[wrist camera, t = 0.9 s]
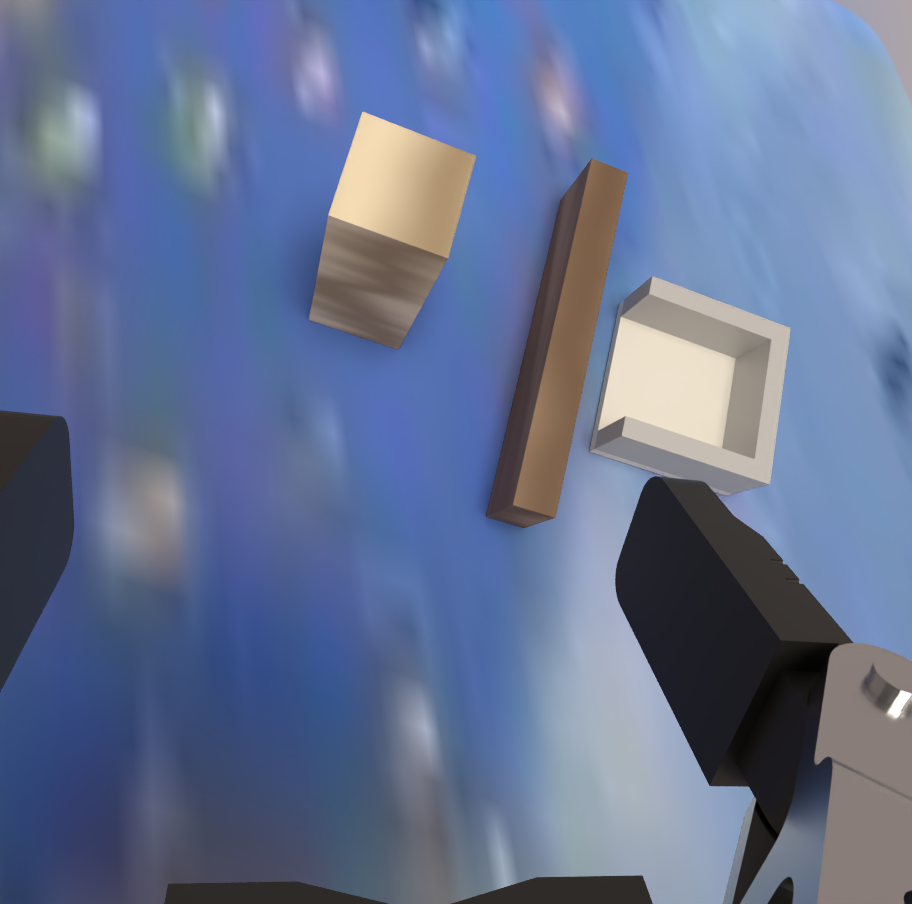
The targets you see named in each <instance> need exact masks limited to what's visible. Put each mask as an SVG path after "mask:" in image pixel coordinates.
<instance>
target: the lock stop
mask: <svg viewBox="0 0 912 904" xmlns="http://www.w3.org/2000/svg"><path fill="white" fill-rule="evenodd" d="M475 159H476V156H475V155H472V154H470V153H467V152H465V151H462V150H459V149H457V148H454V147H452V146H449V145H447V144H444V143H442V142H439V141H436V140H434V139H431V138H429V137H426V136H424V135H421V134H419V133H416V132H413V131H411V130H408V129H406V128H403V127H401V126H398V125H396V124H393V123H390V122H388V121H385V120H383V119H380V118H378V117H375V116H373V115H370V114H367V113H365V112H362V115H361V118H360V121H359V124H358V127H357V130H356V133H355V136H354V139H353V142H352V145H351V148H350V151H349V154H348V157H347V160H346V163H345V166H344V169H343V172H342V175H341V179H340V182H339V185H338V188H337V191H336V194H335V197H334V200H333V203H332V206H331V209H330V212H329V215H328V220H327V225H326V231H325V236H324V241H323V247H322V252H321V257H320V263H319V268H318V274H317V279H316V284H315V290H314V295H313V300H312V306H311V311H310V316H309V320H310V321H313V322H316V323H319V324H322V325H325V326H328V327H331V328H334V329H337V330H340V331H343V332H346V333H349V334H352V335H355V336H358V337H362V338H365V339H368V340H371V341H374V342H377V343H380V344H383V345H386V346H389V347H392V348H395V349H399V348H400V346H401V344H402V342H403V340H404V338H405V337H406V335H407V333H408V331H409V329H410V327H411V325H412V324H413V322H414V320H415V318H416V316H417V314H418V313H419V311H420V309H421V307H422V305H423V303H424V301H425V300H426V298H427V296H428V294H429V292H430V290H431V289H432V287H433V285H434V283H435V281H436V279H437V278H438V276H439V274H440V272H441V270H442V268H443V266H444V265H445V263H446V261H447V259H448V256H449V253H450V249H451V245H452V242H453V238H454V235H455V231H456V227H457V224H458V220H459V216H460V213H461V209H462V206H463V202H464V198H465V195H466V191H467V188H468V184H469V180H470V177H471V173H472V169H473V166H474V162H475Z"/></svg>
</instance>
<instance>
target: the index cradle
mask: <svg viewBox="0 0 912 904" xmlns="http://www.w3.org/2000/svg"><path fill="white" fill-rule="evenodd" d="M790 329H791V328H789V327H786V326H783V325H781V324H778V323H775V322H773V321H770V320H767V319H765V318H762V317H759V316H757V315H754V314H752V313H749V312H746V311H744V310H741V309H738V308H736V307H733V306H730V305H728V304H725V303H722V302H720V301H717V300H714V299H712V298H709V297H706V296H704V295H701V294H699V293H696V292H693V291H691V290H688V289H685V288H683V287H680V286H677V285H675V284H672V283H669V282H667V281H664V280H661V279H659V278H656V277H654V276H652V277H651V278H650V279H648V280H647V281H646V282H645V283H644V284H643V285H641V286H640V287H639V288H638V289H637V290H636V291H634V292H633V293H632V294H631V295H630V296H628V297H627V298H626V299H625V300H624V301H623V302H621V303H620V304H619V307H618V312H617V317H616V322H615V327H614V332H613V337H612V342H611V347H610V352H609V357H608V362H607V367H606V371H605V376H604V381H603V386H602V391H601V396H600V401H599V406H598V411H597V416H596V421H595V426H594V431H593V435H592V440H591V445H590V450H589V452H592V453H595V454H598V455H601V456H604V457H607V458H610V459H614V460H617V461H620V462H623V463H626V464H629V465H632V466H635V467H638V468H641V469H645V470H648V471H651V472H654V473H657V474H660V475H663V476H666V477H669V478H678V479H688V480H698V481H703V482H705V483H706V484H707V485H708V486H709V487H710V488H711V489H712V490H713V492H716V493H719V494H722V495H725V496H727V495H730V494H734V493H738V492H742V491H746V490H750V489H754V488H758V487H762V486H766V485H770V479H771V472H772V464H773V457H774V449H775V442H776V434H777V427H778V419H779V412H780V404H781V397H782V389H783V382H784V374H785V367H786V359H787V352H788V344H789V337H790Z"/></svg>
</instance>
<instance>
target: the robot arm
mask: <svg viewBox="0 0 912 904" xmlns="http://www.w3.org/2000/svg"><path fill="white" fill-rule="evenodd" d="M73 531H74V513H73V496H72V478H71V460H70V442H69V431H68V426H67V423H66V421H65V419H64V418H63V417H61V416H51V415H40V414H30V413H20V412H10V411H0V691H1V689H2V688H3V686H4V684H5V682H6V680H7V678H8V676H9V674H10V672H11V670H12V668H13V666H14V665H15V663H16V661H17V659H18V657H19V655H20V653H21V651H22V649H23V647H24V645H25V643H26V642H27V640H28V638H29V636H30V634H31V632H32V630H33V628H34V626H35V624H36V622H37V621H38V619H39V617H40V615H41V613H42V611H43V609H44V607H45V605H46V603H47V601H48V599H49V598H50V596H51V594H52V592H53V590H54V588H55V586H56V584H57V582H58V580H59V578H60V577H61V575H62V573H63V571H64V569H65V567H66V564H67V561H68V558H69V555H70V551H71V546H72V540H73ZM782 562H783V560H782V558H781V557H780V556H779V555H778V554H777V553H776V551H775V550H774V549H773V548H772V547H771V546H770V544H769V543H768V542H767V541H766V540H765V538H764V537H763V536H761V535H760V534H758V533H757V532H756V531H754V530H753V529H751V528H750V527H749V526H747V525H746V524H744V523H743V522H741V521H740V520H739V519H737V518H736V517H734V516H733V515H732V513H731V512H730V511H729V510H728V509H727V507H726V506H725V505H724V504H723V503H722V501H721V500H720V499H719V498H718V496H717V495H716V494H715V493H714V492H713V490H712V489H711V488H710V487H709V486H708V485H707V484H706V483H705V482H703V481H698V480H688V479H678V478H668V477H657V476H655V477H652V478H650V479H649V480H648V481H647V483H646V484H645V486H644V488H643V490H642V492H641V495H640V498H639V501H638V504H637V507H636V510H635V513H634V516H633V519H632V522H631V524H630V527H629V530H628V533H627V536H626V539H625V542H624V545H623V548H622V551H621V554H620V557H619V560H618V563H617V568H616V578H615V584H616V593H617V598H618V601H619V604H620V606H621V608H622V610H623V612H624V614H625V616H626V618H627V620H628V622H629V624H630V626H631V628H632V630H633V632H634V634H635V636H636V638H637V640H638V642H639V644H640V646H641V648H642V650H643V652H644V655H645V657H646V659H647V661H648V663H649V665H650V667H651V669H652V671H653V673H654V675H655V677H656V679H657V681H658V683H659V685H660V687H661V689H662V691H663V693H664V695H665V697H666V699H667V701H668V703H669V705H670V707H671V709H672V711H673V713H674V715H675V717H676V719H677V721H678V723H679V725H680V727H681V729H682V731H683V733H684V735H685V737H686V739H687V741H688V743H689V745H690V747H691V749H692V751H693V753H694V755H695V757H696V759H697V762H698V764H699V766H700V768H701V770H702V772H703V774H704V776H705V778H706V780H707V782H708V784H709V786H749V787H750V789H751V791H752V793H753V795H754V798H753V800H752V802H751V804H750V806H749V807H748V809H747V811H746V814H745V816H744V819H743V823H742V827H741V831H740V836H739V840H738V844H737V848H736V852H735V856H734V860H733V864H732V868H731V873H730V877H729V881H728V885H727V889H726V893H725V897H724V901H723V904H912V661H910V660H908V659H906V658H904V657H902V656H900V655H898V654H896V653H893V652H891V651H888V650H886V649H883V648H879V647H876V646H872V645H867V644H860V643H853V642H852V641H851V639H850V638H849V637H848V636H847V635H846V634H845V632H844V631H843V630H842V629H841V628H840V627H839V625H838V624H837V623H836V622H835V621H834V619H833V618H832V617H831V616H830V615H829V614H828V612H827V611H826V610H825V609H824V608H823V607H822V605H821V604H820V603H819V602H818V601H817V600H816V598H815V597H814V596H813V595H812V594H811V592H810V591H809V590H808V589H807V588H806V587H805V585H804V584H799V578H798V577H797V576H796V575H795V574H794V573H793V571H792V570H791V569H790V568H789V567H788V565H785V564H783V563H782ZM164 904H387V903H383V902H379V901H375V900H370V899H366V898H362V897H358V896H354V895H350V894H346V893H341V892H337V891H333V890H329V889H325V888H321V887H317V886H312V885H308V884H304V883H300V882H248V883H191V884H168V888H167V893H166V898H165V903H164ZM452 904H653V903H652V901H651V898H650V895H649V892H648V890H647V887H646V884H645V881H644V879H643V876H590V877H537V878H533V879H530V880H527V881H524V882H520V883H517V884H514V885H511V886H507V887H504V888H501V889H498V890H494V891H491V892H488V893H485V894H482V895H478V896H475V897H472V898H469V899H465V900H462V901H459V902H456V903H452Z"/></svg>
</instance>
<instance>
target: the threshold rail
mask: <svg viewBox="0 0 912 904" xmlns="http://www.w3.org/2000/svg"><path fill="white" fill-rule="evenodd" d="M627 175H628V173H627V172H624V171H622V170H619V169H617V168H614V167H612V166H609V165H607V164H604V163H602V162H599V161H597V160H594V159H591V160H590V162H589V163H588V164H587V166H586V167H585V168H584V170H583V171H582V172H581V174H580V175H579V176H578V178H577V179H576V180H575V182H574V183H573V184H572V186H571V187H570V189H569V190H568V191H567V193H566V194H565V195H564V197H563V198H562V199H561V201H560V205H559V210H558V214H557V218H556V222H555V227H554V231H553V235H552V239H551V243H550V248H549V252H548V256H547V260H546V265H545V269H544V273H543V277H542V282H541V286H540V290H539V294H538V299H537V303H536V307H535V311H534V315H533V320H532V324H531V328H530V332H529V337H528V341H527V345H526V349H525V354H524V358H523V362H522V366H521V370H520V375H519V379H518V383H517V387H516V392H515V396H514V400H513V404H512V409H511V413H510V417H509V421H508V426H507V430H506V434H505V438H504V442H503V447H502V451H501V455H500V459H499V464H498V468H497V472H496V476H495V481H494V485H493V489H492V493H491V497H490V502H489V506H488V510H487V514H486V517H489V518H493V519H496V520H499V521H503V522H506V523H509V524H513V525H516V526H520V527H523V528H525V527H528V526H532V525H535V524H538V523H541V522H544V521H547V520H550V519H553V518H555V517H556V512H557V508H558V503H559V498H560V493H561V489H562V484H563V479H564V474H565V470H566V465H567V460H568V455H569V451H570V446H571V441H572V436H573V432H574V427H575V422H576V417H577V413H578V408H579V403H580V398H581V394H582V389H583V384H584V379H585V375H586V370H587V365H588V360H589V356H590V351H591V346H592V341H593V337H594V332H595V327H596V322H597V318H598V313H599V308H600V303H601V299H602V294H603V289H604V284H605V280H606V275H607V270H608V265H609V261H610V256H611V251H612V246H613V242H614V237H615V232H616V227H617V223H618V218H619V213H620V208H621V204H622V199H623V194H624V189H625V185H626V180H627Z"/></svg>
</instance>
